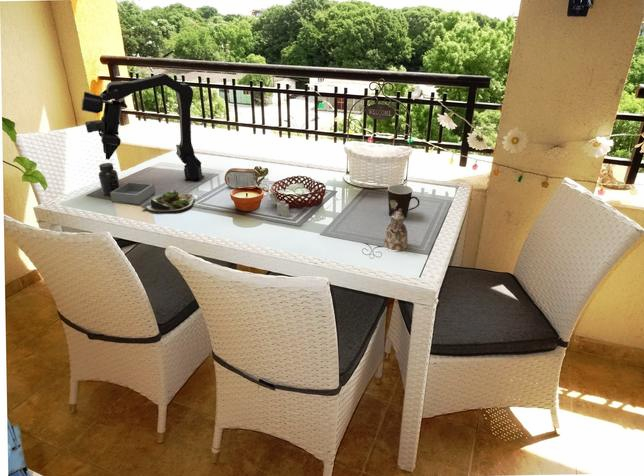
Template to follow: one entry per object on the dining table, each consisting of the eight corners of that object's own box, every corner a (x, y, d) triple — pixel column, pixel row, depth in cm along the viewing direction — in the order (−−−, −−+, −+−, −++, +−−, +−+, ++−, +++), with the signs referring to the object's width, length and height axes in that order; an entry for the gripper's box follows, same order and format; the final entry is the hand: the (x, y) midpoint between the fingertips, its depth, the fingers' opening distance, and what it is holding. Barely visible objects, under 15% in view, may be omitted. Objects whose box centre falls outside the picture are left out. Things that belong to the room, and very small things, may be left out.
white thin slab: (289, 215, 163) (288, 194, 159) (286, 216, 162) (285, 196, 158) (272, 211, 166) (271, 191, 162) (270, 213, 165) (268, 192, 161)
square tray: (155, 193, 181) (153, 184, 180) (139, 204, 171) (137, 195, 170) (129, 191, 184) (127, 181, 182) (112, 202, 174) (109, 192, 172)
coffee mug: (381, 212, 165) (383, 186, 160) (401, 208, 168) (403, 183, 163) (398, 225, 155) (400, 198, 151) (419, 221, 158) (422, 194, 154)
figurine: (380, 247, 142) (382, 212, 136) (389, 238, 147) (392, 204, 141) (401, 253, 138) (405, 218, 133) (410, 244, 144) (413, 209, 138)
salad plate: (155, 194, 181) (153, 184, 179) (199, 194, 182) (198, 183, 180) (139, 215, 164) (137, 203, 162) (188, 214, 165) (187, 202, 163)
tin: (262, 187, 187) (261, 168, 183) (260, 190, 184) (259, 171, 180) (227, 186, 188) (224, 167, 184) (224, 189, 186) (222, 169, 182)
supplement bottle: (99, 194, 180) (92, 166, 175) (112, 189, 186) (105, 161, 180) (112, 197, 178) (105, 168, 172) (125, 191, 184) (119, 163, 178)
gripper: (86, 106, 174) (81, 146, 179) (89, 116, 159) (84, 159, 164) (117, 113, 180) (112, 151, 185) (123, 123, 165) (117, 164, 170)
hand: (106, 156), depth 176 cm, fingers open, 9 cm apart
